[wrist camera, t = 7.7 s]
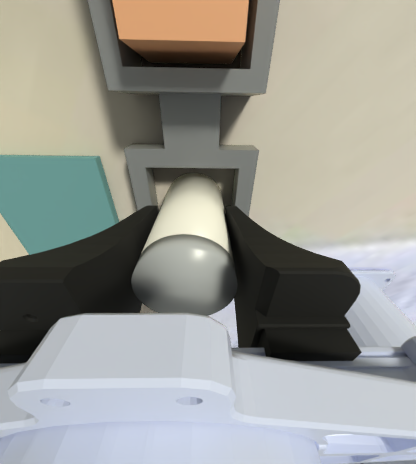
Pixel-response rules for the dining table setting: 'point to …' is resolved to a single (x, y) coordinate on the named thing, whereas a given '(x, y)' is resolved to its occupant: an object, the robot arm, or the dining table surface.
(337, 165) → the dining table surface
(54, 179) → the mat
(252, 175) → the housing
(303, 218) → the dining table surface
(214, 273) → the cylinder
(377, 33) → the dining table surface
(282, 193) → the dining table surface
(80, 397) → the robot arm
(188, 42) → the orange cube
